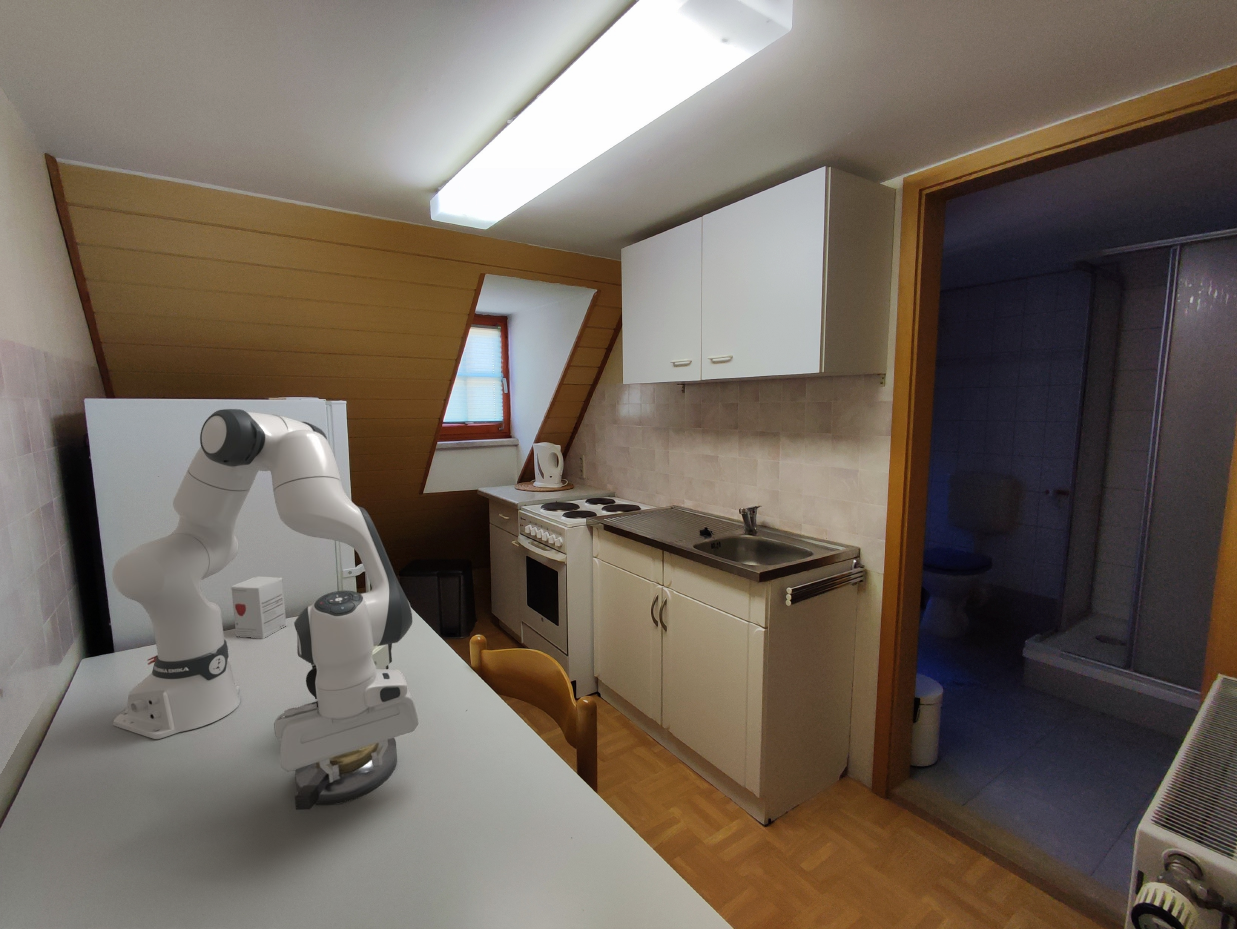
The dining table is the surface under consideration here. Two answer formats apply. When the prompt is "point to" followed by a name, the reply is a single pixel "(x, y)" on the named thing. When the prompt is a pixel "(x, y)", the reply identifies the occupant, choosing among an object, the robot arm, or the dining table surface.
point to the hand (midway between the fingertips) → (356, 771)
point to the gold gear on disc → (352, 778)
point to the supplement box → (258, 607)
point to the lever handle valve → (321, 778)
